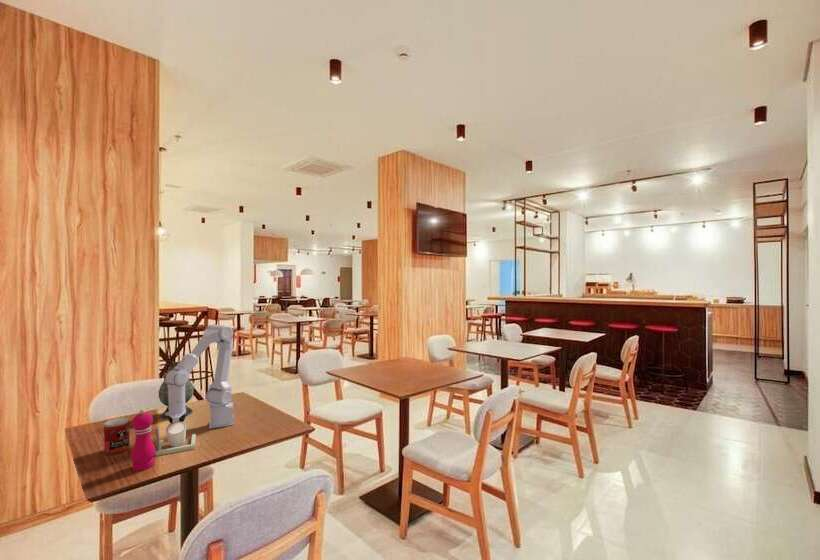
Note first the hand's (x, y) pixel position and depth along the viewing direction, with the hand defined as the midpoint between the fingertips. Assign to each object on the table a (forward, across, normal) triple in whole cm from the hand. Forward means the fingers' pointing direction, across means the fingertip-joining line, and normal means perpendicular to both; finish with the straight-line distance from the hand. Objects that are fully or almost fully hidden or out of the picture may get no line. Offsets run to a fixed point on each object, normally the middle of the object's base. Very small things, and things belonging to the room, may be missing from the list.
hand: (177, 434), depth 156 cm
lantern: (+3, -36, -3) cm, 37 cm away
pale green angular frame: (+3, +4, -1) cm, 5 cm away
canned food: (+3, -2, -20) cm, 20 cm away
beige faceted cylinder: (+2, +2, 0) cm, 3 cm away
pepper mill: (+3, +18, -9) cm, 20 cm away
